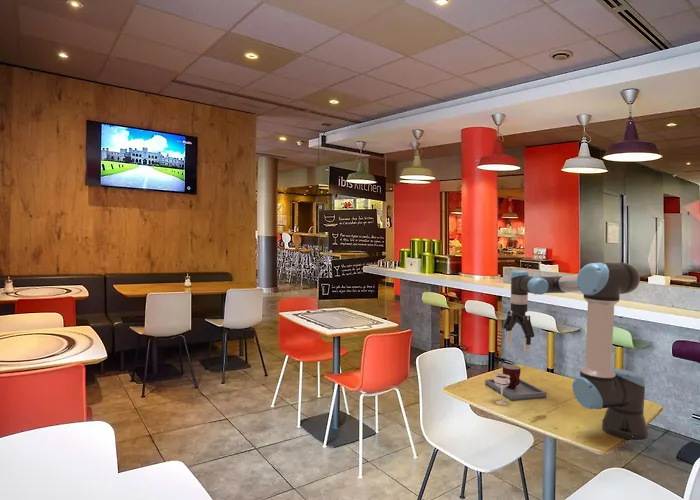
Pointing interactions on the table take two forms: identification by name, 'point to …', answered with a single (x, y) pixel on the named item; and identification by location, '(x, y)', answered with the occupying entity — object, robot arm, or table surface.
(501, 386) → the wineglass
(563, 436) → the table surface
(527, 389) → the tray
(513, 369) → the mug
